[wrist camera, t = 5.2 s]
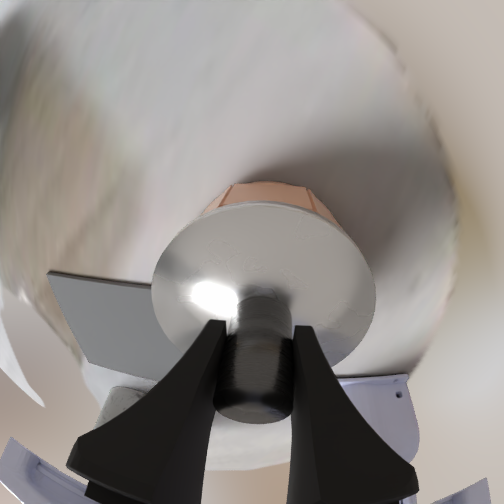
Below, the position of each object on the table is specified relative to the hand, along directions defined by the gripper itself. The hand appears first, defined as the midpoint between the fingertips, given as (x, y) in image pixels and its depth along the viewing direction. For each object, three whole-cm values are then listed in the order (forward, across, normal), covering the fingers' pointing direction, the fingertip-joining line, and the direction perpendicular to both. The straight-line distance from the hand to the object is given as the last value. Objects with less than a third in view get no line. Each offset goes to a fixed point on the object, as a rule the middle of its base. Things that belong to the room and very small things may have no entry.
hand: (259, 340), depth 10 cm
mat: (+7, +12, +9) cm, 16 cm away
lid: (+2, 0, 0) cm, 2 cm away
